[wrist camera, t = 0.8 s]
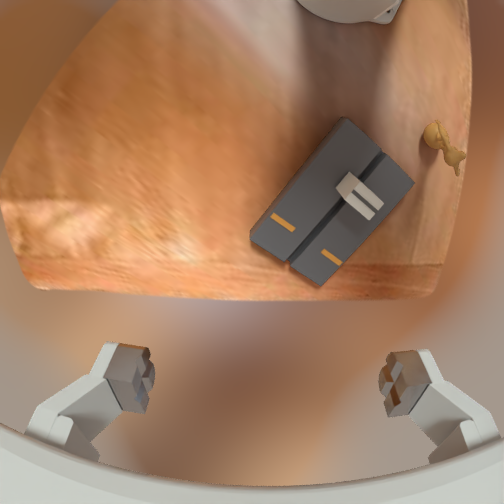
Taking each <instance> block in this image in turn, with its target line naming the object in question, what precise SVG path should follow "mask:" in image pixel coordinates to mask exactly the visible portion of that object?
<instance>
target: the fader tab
mask: <svg viewBox="0 0 504 504" xmlns="http://www.w3.org/2000/svg"><path fill="white" fill-rule="evenodd" d="M336 189H337V191H338V192H339V193H340V194H341V196H342V197H343V198H344V200H345V201H347V202H348V203H349V204H350V205H351V206H353V207H354V208H355V209H356V210H357V211H358V212H360V213H361V214H362V215H363V216H364V217H365V218H367V219H368V220H370V219H371V218H372V217H373V216H374V215H375V214H376V213H377V212H378V210H379V209H380V208H381V207H382V206H383V204H384V203H383V202H382V201H381V200H380V199H379V198H378V197H377V196H376V195H375V194H374V193H373V192H372V191H371V190H370V189H369V188H368V187H366V186H365V185H364V184H363V183H362V182H361V181H360V180H359V179H357V178H356V177H355V176H354V175H353V174H352V173H350V172H348V174H347V175H346V176H345V177H344V178H343V180H342V181H341V182H340V183H339V184H338V186H337V187H336Z"/></svg>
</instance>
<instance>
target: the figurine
mask: <svg viewBox="0 0 504 504" xmlns="http://www.w3.org/2000/svg"><path fill="white" fill-rule="evenodd" d="M435 121H436V120H435ZM440 123H441V122H439V120H437V121H436V123H432V124H429V125H428V126H427V127H426V128H425V130H424V140H425V142H426V143H427V145H428V146H430V147H431V148H433V149H442V150H443V154H444V160H445V162H446V163H447V164H448V165H449V166H453V167H454V170H455V174H456V176H459V174H460V173H459V172H460V169H458V167H459V162H460V161H462V160H463V159H465V158H466V154H465V153H464V152H463V151H458V150H457V149H456V148H455V147H453V146H451V145H450V142H449V136H448V133H447V131H446V129H445V128H444V127H443V126H442V125H440Z"/></svg>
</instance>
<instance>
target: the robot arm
mask: <svg viewBox="0 0 504 504" xmlns="http://www.w3.org/2000/svg"><path fill="white" fill-rule="evenodd" d="M297 1H298V2H299V3H300V4H301V5H302V6H304V7H305V8H306V9H307V10H309V11H310V12H312V13H313V14H315V15H317V16H319V17H321V18H324V19H327V20H330V21H334V22H339V23H358V22H364V21H371V22H374V23H379V24H388V23H390V22H391V21H392V19H393V17H394V15H395V13H396V11H397V9H398V7H399V5H400V3H401V1H402V0H297ZM387 11H389V13H387ZM150 355H151V354H150V351H149V348H147V347H141V346H135V345H128V344H122V343H115V342H109V341H107V342H106V343H105V344H104V346H103V347H102V349H101V351H100V353H99V355H98V357H97V359H96V361H95V363H94V365H93V367H92V370H91V372H90V374H89V375H84V376H82V377H81V378H79V379H78V380H76V381H75V382H73V383H72V384H70V385H69V386H67V387H66V388H64V389H63V390H61V391H60V392H58V393H57V394H55V395H53V396H52V397H51V398H49V399H47V400H46V401H45V402H43V403H41V404H40V405H38V406H37V408H36V410H35V412H34V414H33V416H32V418H31V420H30V423H29V425H28V427H27V429H26V431H25V433H24V434H22V433H20V432H18V431H16V430H14V429H12V428H10V427H8V426H6V425H4V424H2V423H0V504H504V437H503V438H501V436H500V434H499V431H498V429H497V427H496V424H495V422H494V420H493V418H492V416H491V414H490V412H489V411H488V410H486V409H485V408H484V407H482V406H481V405H480V404H478V403H477V402H476V401H474V400H473V399H472V398H470V397H469V396H467V395H466V394H465V393H463V392H462V391H460V390H459V389H458V388H456V387H455V386H454V385H452V384H451V383H450V382H448V381H444V379H443V378H442V375H441V373H440V371H439V369H438V367H437V365H436V363H435V361H434V359H433V357H432V355H431V353H430V351H429V350H428V349H421V350H410V351H400V352H391V353H390V354H388V356H387V358H386V362H387V365H385V366H384V367H383V368H382V369H381V371H380V374H379V381H378V382H379V388H380V392H381V394H383V395H384V396H385V397H386V399H385V401H384V406H385V409H386V412H387V415H388V417H395V416H402V415H409V417H410V418H411V419H412V420H413V421H414V422H415V423H416V424H417V425H418V426H419V427H420V429H422V431H423V432H424V433H425V434H426V435H427V436H428V437H429V438H430V439H431V440H432V441H433V442H434V443H435V444H436V445H437V446H438V447H437V448H436V449H435V450H434V451H433V452H432V453H431V454H430V455H429V457H428V459H429V463H430V464H429V465H425V466H421V467H418V468H414V469H410V470H406V471H401V472H397V473H392V474H387V475H382V476H377V477H372V478H365V479H359V480H351V481H344V482H336V483H326V484H313V485H299V486H298V485H296V486H241V485H224V484H212V483H202V482H194V481H185V480H179V479H172V478H166V477H160V476H154V475H150V474H145V473H140V472H136V471H131V470H127V469H123V468H119V467H115V466H111V465H108V464H104V463H100V462H98V459H99V456H100V455H99V452H98V451H97V450H96V449H95V447H94V446H93V445H92V444H91V443H90V442H91V440H93V439H94V438H95V437H96V436H97V435H98V434H99V433H100V432H101V431H102V430H104V428H106V427H107V426H108V425H109V424H110V423H111V422H112V421H113V420H114V419H115V418H116V417H117V416H119V414H121V413H122V410H123V411H129V412H135V413H142V414H145V412H146V409H147V405H148V402H149V396H148V394H147V393H148V392H149V391H150V390H151V389H152V388H153V385H154V379H155V369H154V365H153V363H152V362H151V361H150V360H149V358H150Z"/></svg>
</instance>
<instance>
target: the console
mask: <svg viewBox="0 0 504 504" xmlns="http://www.w3.org/2000/svg"><path fill="white" fill-rule="evenodd" d="M348 172H350V173H352V174H353V175H354V176H355V177H356V178H357V179H359V180H360V181H361V182H362V183H363V184H364V185H365V186H366V187H368V188H369V189H370V190H371V191H372V192H373V193H374V194H375V195H376V196H377V197H378V198H379V199H380V200H381V201H382V202H383V203H384V204H383V206H382V207H381V208H380V209H379V210H378V212H377V213H376V214H375V215H374V216H373V217H372V218H371V219H370V220H368V219H367V218H365V217H364V216H363V215H362V214H361V213H360V212H358V211H357V210H356V209H355V208H354V207H353V206H351V205H350V204H349V203H348V202H347V201H345V200H344V198H343V197H342V196H341V194H340V193H339V192H338V191H337V189H336V187H337V186H338V184H339V183H340V182H341V181H342V180H343V178H344V177H345V176H346V175H347V174H348ZM414 184H415V183H414V181H413V180H412V179H411V178H410V177H409V176H408V175H407V174H406V173H405V172H404V171H403V170H402V169H401V168H400V167H399V166H398V165H397V164H396V163H395V162H394V161H393V160H392V159H391V158H390V157H389V156H388V155H387V154H385V153H383V152H382V151H381V148H380V147H379V146H378V145H377V144H376V143H375V142H373V141H372V140H371V139H370V138H369V137H368V136H367V135H366V134H365V133H364V132H363V131H361V130H360V129H359V128H358V127H357V126H356V125H355V124H353V123H352V122H351V121H350V120H349V119H348V118H344V117H341V119H340V120H339V121H338V122H337V124H336V125H335V126H334V127H333V128H332V130H331V131H330V132H329V133H328V134H327V136H326V137H325V138H324V139H323V141H322V142H321V143H320V144H319V146H318V147H317V148H316V149H315V150H314V152H313V153H312V154H311V155H310V157H309V158H308V159H307V160H306V162H305V163H304V164H303V165H302V166H301V168H300V169H299V170H298V171H297V173H296V174H295V175H294V176H293V178H292V179H291V180H290V181H289V183H288V184H287V185H286V186H285V188H284V189H283V190H282V191H281V193H280V194H279V195H278V196H277V198H276V199H275V200H274V201H273V203H272V204H271V205H270V206H269V208H268V209H267V210H266V211H265V213H264V214H263V215H262V216H261V218H260V219H259V220H258V221H257V223H256V224H255V225H254V226H253V228H252V229H251V230H250V240H251V241H253V242H254V243H256V244H257V245H259V246H260V247H262V248H263V249H265V250H266V251H268V252H270V253H271V254H273V255H274V256H276V257H277V258H279V259H280V260H282V261H283V262H285V260H286V259H287V260H288V261H290V266H291V267H292V268H294V269H295V270H297V271H298V272H300V273H301V274H303V275H305V276H306V277H308V278H309V279H311V280H312V281H314V282H315V283H317V284H318V285H320V286H322V285H323V284H324V283H325V282H326V281H327V280H328V278H329V277H330V276H331V275H332V274H333V273H334V272H335V271H336V270H337V269H338V268H339V267H340V266H341V265H342V264H343V263H344V262H345V261H346V260H347V259H348V258H349V257H350V256H351V254H352V253H353V252H354V251H355V250H356V249H357V248H358V247H359V246H360V245H361V244H362V243H363V242H364V240H365V239H366V238H367V237H368V236H369V235H370V234H371V233H372V232H373V231H374V230H375V228H376V227H377V226H378V225H379V224H380V223H381V222H382V221H383V219H384V218H385V217H386V216H387V215H388V214H389V213H390V212H391V210H392V209H393V208H394V207H395V206H396V205H397V204H398V202H399V201H400V200H401V199H402V198H403V197H404V195H405V194H406V193H407V192H408V191H409V190H410V188H411V187H412V186H413V185H414Z"/></svg>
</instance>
